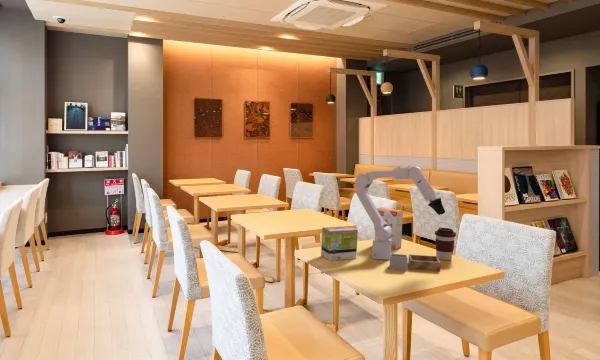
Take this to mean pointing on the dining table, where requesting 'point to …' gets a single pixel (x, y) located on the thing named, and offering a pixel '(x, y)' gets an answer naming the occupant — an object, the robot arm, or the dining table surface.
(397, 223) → the cracker box
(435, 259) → the walnut crate
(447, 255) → the coffee cup
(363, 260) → the dining table surface
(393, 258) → the grey crate
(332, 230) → the tea box
